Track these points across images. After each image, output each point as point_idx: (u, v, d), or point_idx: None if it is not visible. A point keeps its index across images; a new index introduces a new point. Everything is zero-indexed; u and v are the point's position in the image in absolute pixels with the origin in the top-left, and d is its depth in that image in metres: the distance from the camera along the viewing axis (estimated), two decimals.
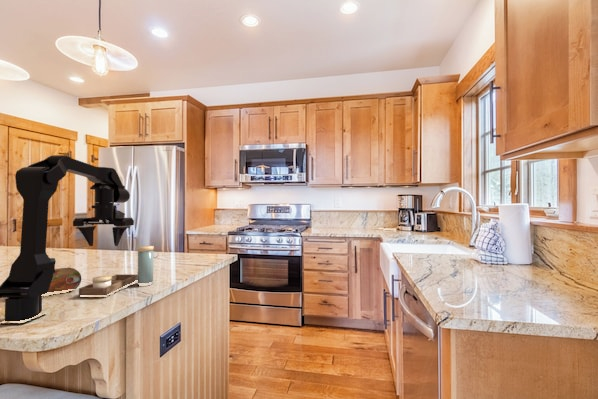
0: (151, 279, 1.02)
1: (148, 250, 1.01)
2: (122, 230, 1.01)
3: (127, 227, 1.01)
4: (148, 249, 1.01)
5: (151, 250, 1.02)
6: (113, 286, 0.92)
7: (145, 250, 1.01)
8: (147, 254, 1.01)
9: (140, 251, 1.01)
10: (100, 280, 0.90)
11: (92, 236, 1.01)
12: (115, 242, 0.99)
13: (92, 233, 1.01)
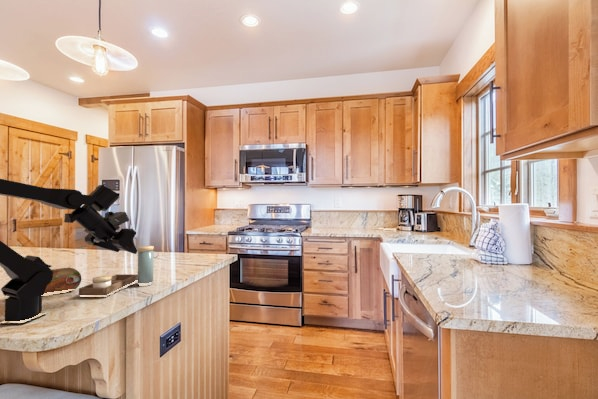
0: (151, 279, 1.02)
1: (148, 250, 1.01)
2: (130, 240, 0.91)
3: (131, 239, 0.90)
4: (148, 249, 1.01)
5: (151, 250, 1.02)
6: (113, 286, 0.92)
7: (145, 250, 1.01)
8: (147, 254, 1.01)
9: (140, 251, 1.01)
10: (100, 280, 0.90)
11: (113, 243, 0.97)
12: (132, 252, 0.93)
13: (111, 240, 0.97)
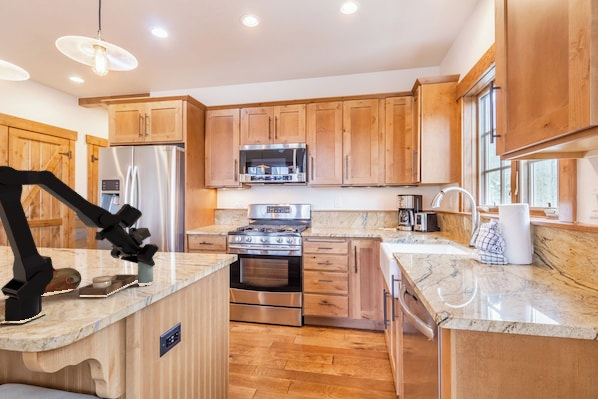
0: (151, 279, 1.02)
1: None
2: None
3: None
4: None
5: None
6: (113, 286, 0.92)
7: None
8: None
9: None
10: (100, 280, 0.90)
11: None
12: (150, 265, 1.01)
13: (137, 254, 1.03)
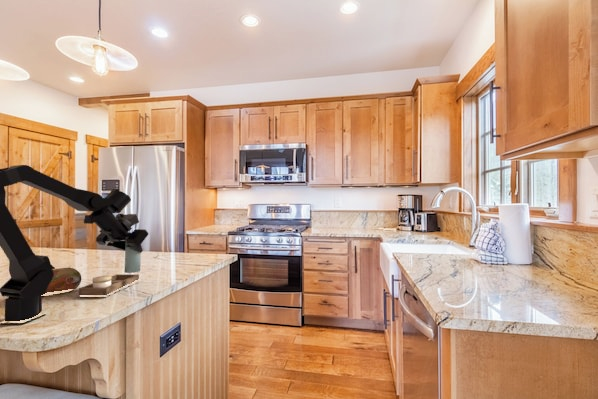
0: (139, 265, 1.02)
1: None
2: None
3: None
4: None
5: None
6: (113, 286, 0.92)
7: None
8: None
9: None
10: (100, 280, 0.90)
11: None
12: (138, 251, 1.01)
13: (124, 241, 1.02)
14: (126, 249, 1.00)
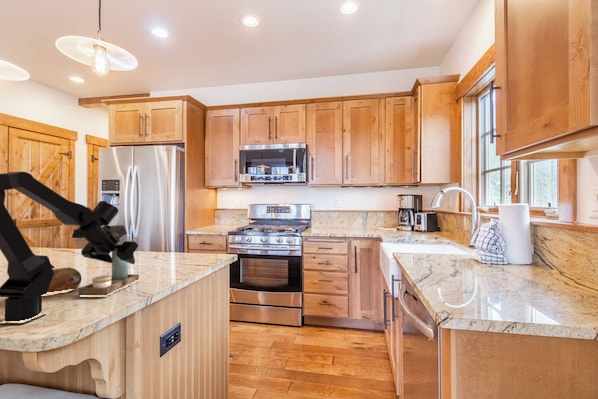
0: None
1: None
2: None
3: None
4: None
5: None
6: (113, 286, 0.92)
7: None
8: None
9: (116, 252, 0.99)
10: (100, 280, 0.90)
11: (108, 255, 1.02)
12: (131, 263, 1.00)
13: None
14: (113, 264, 0.99)
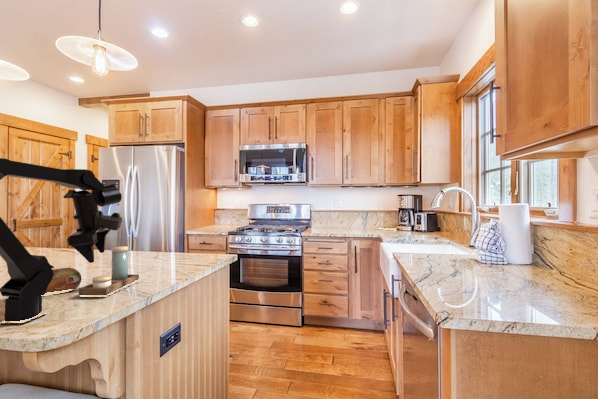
0: None
1: (124, 251, 1.00)
2: (89, 246, 0.83)
3: (86, 244, 0.81)
4: (123, 250, 1.00)
5: (126, 250, 1.01)
6: (113, 286, 0.92)
7: (121, 251, 1.00)
8: (123, 255, 1.00)
9: (115, 252, 0.99)
10: (100, 280, 0.90)
11: (102, 242, 0.93)
12: None
13: (103, 238, 0.94)
14: (113, 264, 0.99)
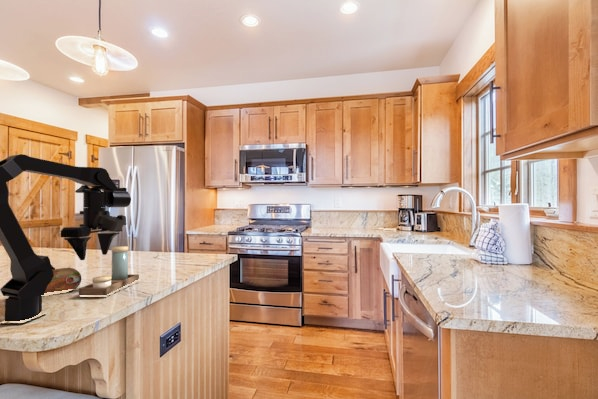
0: None
1: (124, 250, 1.00)
2: (81, 242, 0.82)
3: (76, 239, 0.80)
4: (123, 250, 1.00)
5: (126, 250, 1.02)
6: (113, 286, 0.92)
7: (121, 251, 1.00)
8: (123, 255, 1.00)
9: (115, 252, 0.99)
10: (100, 280, 0.90)
11: (106, 244, 0.92)
12: None
13: (108, 240, 0.93)
14: (113, 264, 0.99)
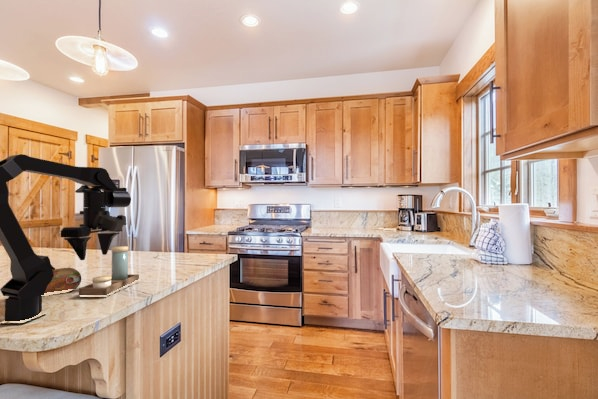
0: None
1: (124, 251, 1.00)
2: (81, 242, 0.82)
3: (76, 239, 0.80)
4: (123, 250, 1.00)
5: (126, 250, 1.01)
6: (113, 286, 0.92)
7: (121, 251, 1.00)
8: (123, 255, 1.00)
9: (115, 252, 0.99)
10: (100, 280, 0.90)
11: (106, 244, 0.92)
12: None
13: (108, 240, 0.93)
14: (113, 264, 0.99)
